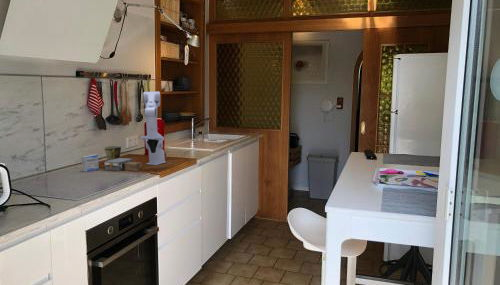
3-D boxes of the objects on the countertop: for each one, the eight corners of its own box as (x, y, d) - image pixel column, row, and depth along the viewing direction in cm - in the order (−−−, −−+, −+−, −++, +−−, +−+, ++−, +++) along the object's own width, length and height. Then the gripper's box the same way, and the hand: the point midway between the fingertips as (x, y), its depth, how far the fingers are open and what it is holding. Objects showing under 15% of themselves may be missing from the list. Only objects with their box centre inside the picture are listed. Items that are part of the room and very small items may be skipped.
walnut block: (130, 168, 245) (130, 161, 245) (141, 169, 242) (141, 162, 241) (124, 170, 241) (124, 163, 240) (136, 171, 237) (135, 164, 237)
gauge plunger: (122, 165, 251) (121, 158, 251) (133, 166, 247) (133, 159, 247) (107, 169, 241) (107, 162, 240) (119, 170, 237) (119, 163, 236)
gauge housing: (119, 165, 254) (119, 157, 253) (133, 166, 249) (132, 158, 249) (104, 169, 243) (104, 161, 242) (118, 170, 238) (117, 162, 238)
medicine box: (86, 172, 238) (85, 156, 237) (82, 171, 241) (80, 156, 239) (99, 169, 244) (97, 154, 243) (94, 168, 247) (93, 154, 246)
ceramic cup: (104, 162, 267) (103, 146, 266) (120, 160, 271) (119, 145, 270) (106, 165, 255) (105, 149, 254) (124, 164, 260) (122, 147, 258)
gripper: (136, 129, 237) (138, 153, 239) (158, 129, 231) (159, 154, 233) (145, 127, 243) (146, 151, 245) (165, 128, 237) (167, 152, 239)
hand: (153, 152), depth 239 cm, fingers closed
